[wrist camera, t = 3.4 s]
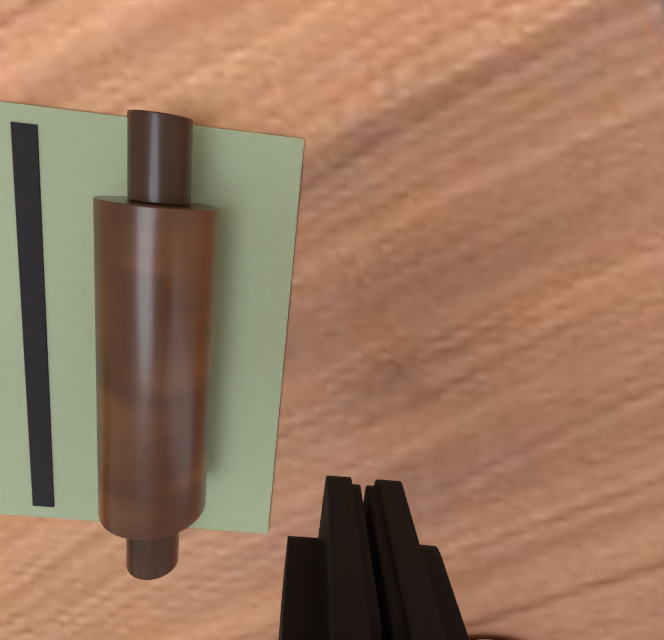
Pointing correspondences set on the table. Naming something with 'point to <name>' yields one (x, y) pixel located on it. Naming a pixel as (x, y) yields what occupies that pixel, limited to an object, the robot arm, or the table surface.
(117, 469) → the rolling pin
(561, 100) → the table surface
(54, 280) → the baking mat
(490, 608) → the table surface
